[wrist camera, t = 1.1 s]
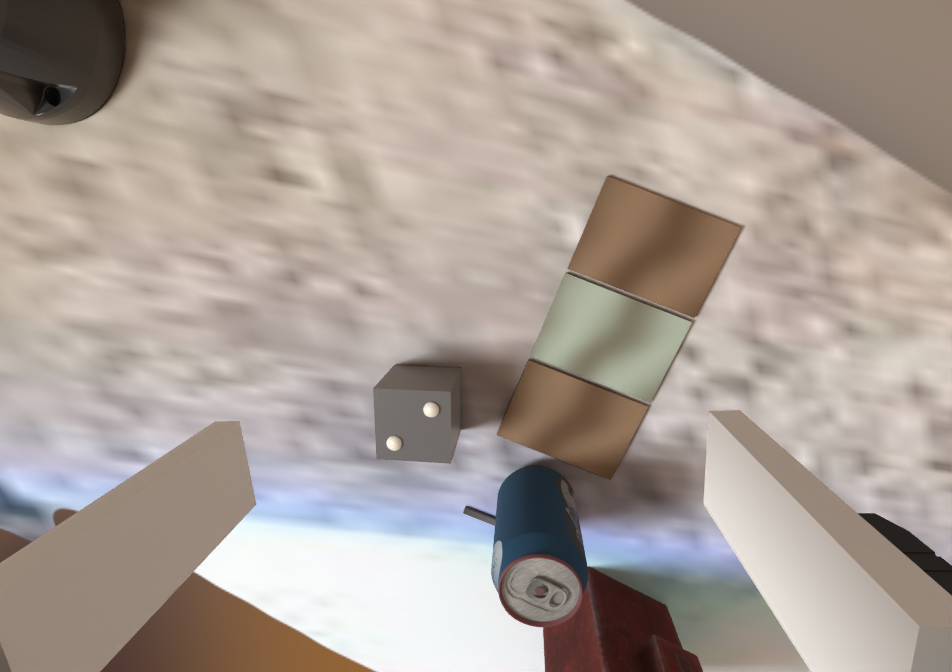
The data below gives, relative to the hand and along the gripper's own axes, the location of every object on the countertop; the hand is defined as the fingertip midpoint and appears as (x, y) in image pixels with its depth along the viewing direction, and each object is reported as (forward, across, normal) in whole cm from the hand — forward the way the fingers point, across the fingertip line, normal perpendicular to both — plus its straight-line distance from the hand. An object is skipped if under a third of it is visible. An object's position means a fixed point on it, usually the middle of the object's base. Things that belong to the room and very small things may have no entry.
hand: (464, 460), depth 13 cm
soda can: (+27, +2, -18) cm, 33 cm away
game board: (+27, +7, -7) cm, 29 cm away
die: (+27, -7, -9) cm, 29 cm away
